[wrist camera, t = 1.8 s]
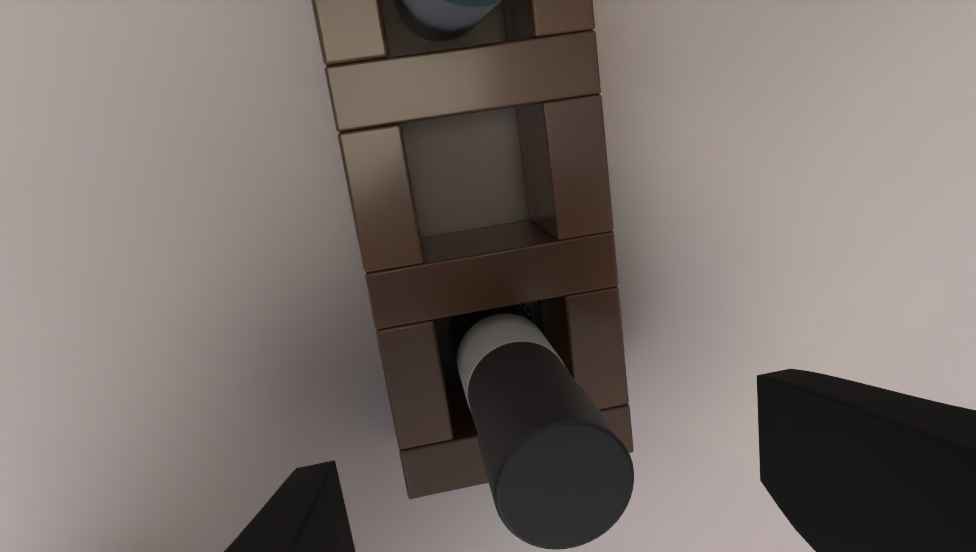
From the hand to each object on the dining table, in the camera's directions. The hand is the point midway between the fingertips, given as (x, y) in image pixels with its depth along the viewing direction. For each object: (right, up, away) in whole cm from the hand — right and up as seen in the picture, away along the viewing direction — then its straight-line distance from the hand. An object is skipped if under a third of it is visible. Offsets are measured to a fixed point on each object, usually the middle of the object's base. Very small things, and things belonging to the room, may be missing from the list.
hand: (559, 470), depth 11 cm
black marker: (-1, +2, +7) cm, 8 cm away
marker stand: (-2, +6, +6) cm, 9 cm away
